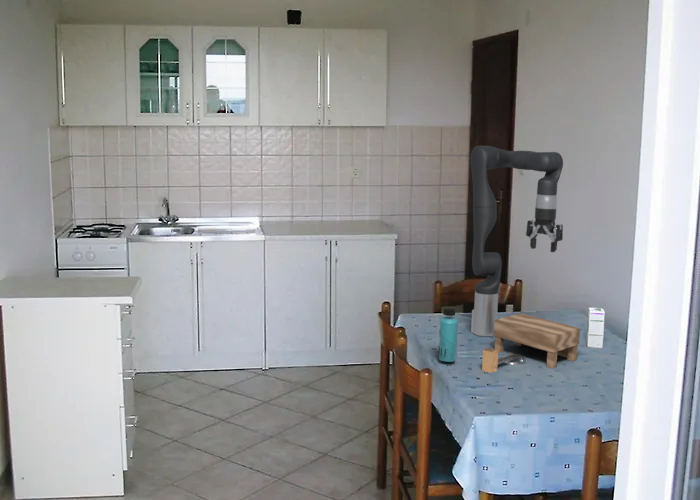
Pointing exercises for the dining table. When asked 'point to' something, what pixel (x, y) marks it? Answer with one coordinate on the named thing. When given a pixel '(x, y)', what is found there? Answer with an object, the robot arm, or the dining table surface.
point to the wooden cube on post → (492, 360)
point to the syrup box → (595, 327)
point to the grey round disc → (512, 362)
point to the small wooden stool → (538, 336)
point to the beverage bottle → (448, 336)
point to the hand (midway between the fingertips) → (543, 250)
